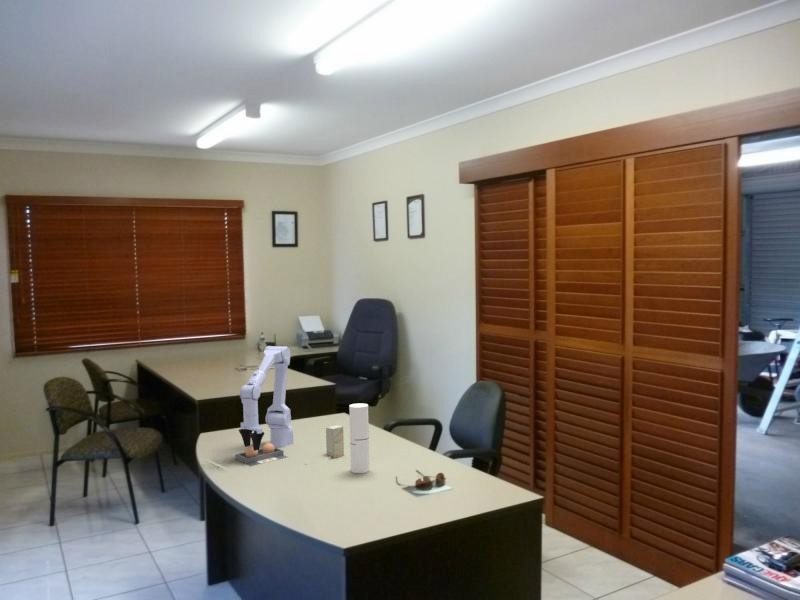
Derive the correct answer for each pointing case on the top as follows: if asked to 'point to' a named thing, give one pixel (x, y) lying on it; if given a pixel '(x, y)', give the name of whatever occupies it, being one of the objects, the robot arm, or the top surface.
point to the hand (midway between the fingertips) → (251, 448)
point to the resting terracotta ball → (268, 448)
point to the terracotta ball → (251, 452)
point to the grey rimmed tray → (261, 457)
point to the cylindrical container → (359, 438)
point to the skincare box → (335, 441)
